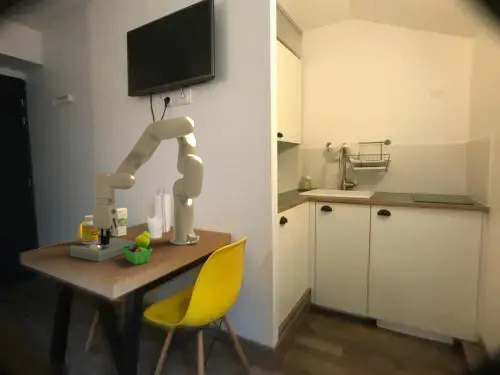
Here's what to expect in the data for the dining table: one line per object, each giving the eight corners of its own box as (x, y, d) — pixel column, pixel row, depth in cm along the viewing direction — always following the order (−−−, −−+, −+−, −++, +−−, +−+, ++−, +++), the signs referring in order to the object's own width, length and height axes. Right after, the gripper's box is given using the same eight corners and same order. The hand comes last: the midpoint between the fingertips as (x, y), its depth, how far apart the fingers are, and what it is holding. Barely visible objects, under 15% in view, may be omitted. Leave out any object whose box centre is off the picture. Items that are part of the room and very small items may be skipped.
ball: (100, 257, 116) (106, 247, 119) (92, 253, 113) (99, 242, 115) (91, 255, 118) (98, 245, 121) (83, 250, 114) (90, 240, 117)
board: (141, 247, 129) (141, 238, 129) (99, 261, 109) (98, 251, 108) (114, 243, 135) (114, 234, 135) (70, 255, 115) (70, 246, 114)
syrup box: (121, 233, 154) (121, 207, 153) (127, 235, 150) (127, 208, 149) (111, 235, 149) (110, 208, 148) (117, 237, 146) (116, 209, 145)
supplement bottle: (91, 245, 130) (90, 217, 129) (78, 244, 131) (78, 216, 131) (101, 241, 137) (101, 215, 136) (89, 240, 138) (89, 214, 137)
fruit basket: (121, 259, 112) (121, 231, 112) (143, 254, 119) (143, 228, 118) (133, 266, 104) (133, 236, 104) (156, 261, 111) (156, 233, 110)
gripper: (125, 201, 120) (125, 244, 121) (99, 199, 125) (99, 240, 127) (110, 203, 113) (110, 249, 114) (84, 201, 118) (84, 244, 120)
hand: (105, 244), depth 120 cm, fingers closed
